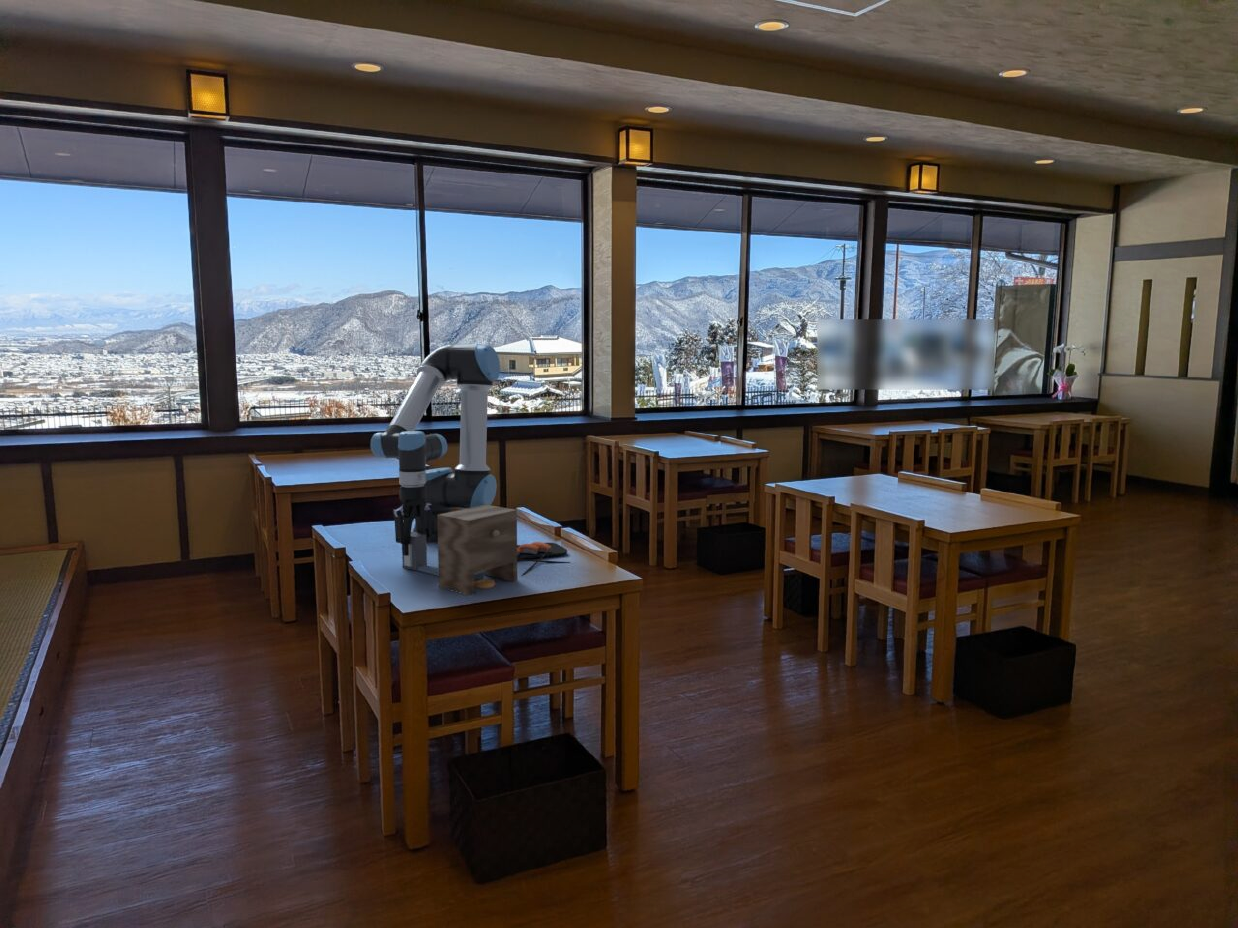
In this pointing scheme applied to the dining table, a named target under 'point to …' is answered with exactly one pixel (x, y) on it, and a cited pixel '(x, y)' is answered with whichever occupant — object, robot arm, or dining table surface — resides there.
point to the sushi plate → (539, 552)
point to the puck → (484, 583)
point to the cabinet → (476, 546)
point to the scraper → (425, 556)
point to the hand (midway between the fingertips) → (414, 563)
